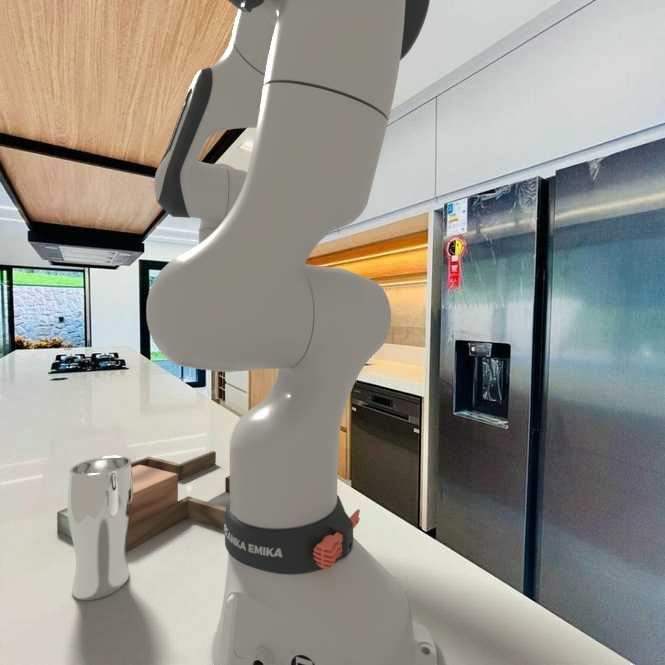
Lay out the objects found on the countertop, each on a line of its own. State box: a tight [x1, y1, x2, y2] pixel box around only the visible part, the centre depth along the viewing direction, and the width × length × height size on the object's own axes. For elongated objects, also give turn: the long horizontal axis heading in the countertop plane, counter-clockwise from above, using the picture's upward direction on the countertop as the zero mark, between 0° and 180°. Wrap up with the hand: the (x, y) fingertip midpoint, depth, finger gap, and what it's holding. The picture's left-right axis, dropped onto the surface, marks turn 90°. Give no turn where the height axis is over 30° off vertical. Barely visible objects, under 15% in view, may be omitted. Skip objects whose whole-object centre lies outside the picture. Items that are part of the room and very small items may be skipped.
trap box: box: [56, 450, 230, 553], centre depth 70 cm, size 35×33×3 cm
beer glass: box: [67, 455, 133, 601], centre depth 46 cm, size 7×7×15 cm
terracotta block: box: [129, 465, 179, 526], centre depth 62 cm, size 10×10×7 cm
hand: (221, 314), depth 77 cm, fingers open, 8 cm apart
